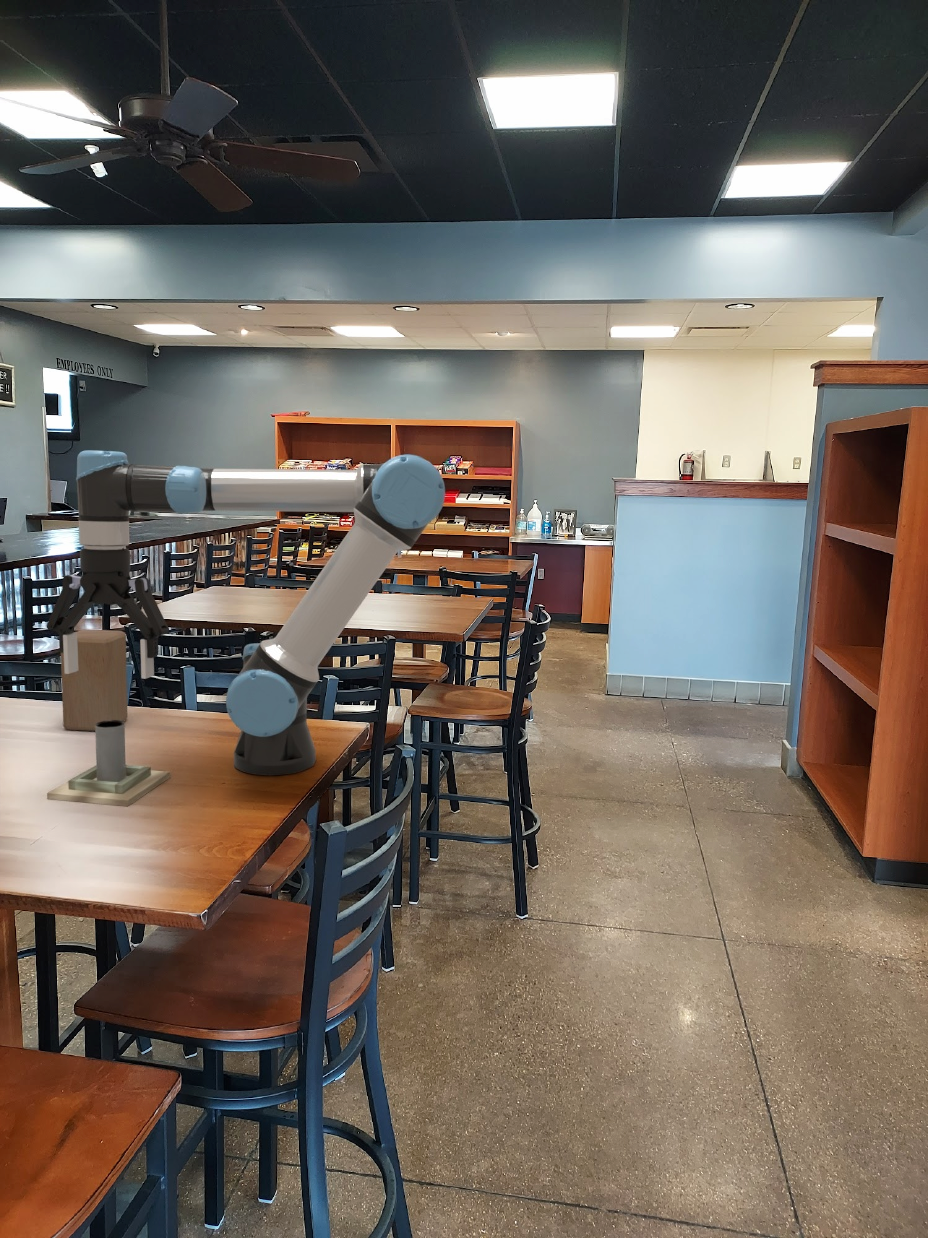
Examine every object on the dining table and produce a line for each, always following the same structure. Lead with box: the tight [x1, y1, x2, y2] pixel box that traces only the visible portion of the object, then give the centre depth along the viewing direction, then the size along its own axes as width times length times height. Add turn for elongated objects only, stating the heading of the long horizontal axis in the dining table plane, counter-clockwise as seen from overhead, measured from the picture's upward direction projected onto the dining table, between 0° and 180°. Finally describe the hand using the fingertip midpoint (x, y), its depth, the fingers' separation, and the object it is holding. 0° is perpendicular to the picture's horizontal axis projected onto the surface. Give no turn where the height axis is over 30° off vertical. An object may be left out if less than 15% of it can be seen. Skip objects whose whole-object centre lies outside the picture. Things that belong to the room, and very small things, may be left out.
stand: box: [46, 764, 171, 807], centre depth 138 cm, size 14×14×2 cm
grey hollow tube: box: [94, 720, 127, 782], centre depth 138 cm, size 4×4×10 cm
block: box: [60, 628, 129, 732], centre depth 172 cm, size 10×10×20 cm
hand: (109, 674), depth 136 cm, fingers open, 13 cm apart
